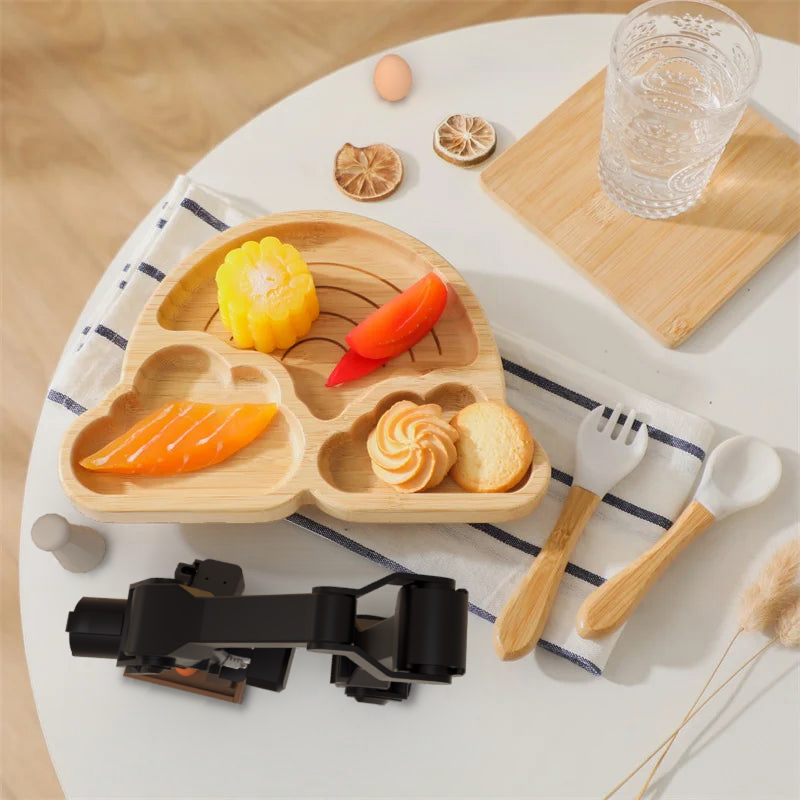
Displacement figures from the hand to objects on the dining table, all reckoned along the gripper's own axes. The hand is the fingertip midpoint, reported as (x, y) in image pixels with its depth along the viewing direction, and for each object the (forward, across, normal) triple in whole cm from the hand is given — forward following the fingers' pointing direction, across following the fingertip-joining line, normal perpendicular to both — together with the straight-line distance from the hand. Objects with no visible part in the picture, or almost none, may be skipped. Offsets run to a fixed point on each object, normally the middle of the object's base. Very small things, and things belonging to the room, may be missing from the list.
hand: (224, 652), depth 105 cm
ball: (+2, +4, +2) cm, 5 cm away
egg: (+5, 0, -85) cm, 85 cm away
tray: (+4, +4, 0) cm, 6 cm away
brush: (+4, 0, 0) cm, 4 cm away
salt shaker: (+5, +22, -8) cm, 23 cm away
